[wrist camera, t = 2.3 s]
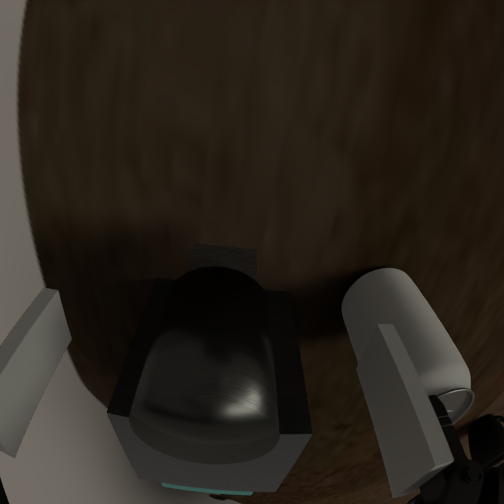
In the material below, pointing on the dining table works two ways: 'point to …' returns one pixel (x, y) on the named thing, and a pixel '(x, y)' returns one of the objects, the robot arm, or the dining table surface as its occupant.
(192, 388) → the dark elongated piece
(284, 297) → the housing
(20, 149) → the dining table surface
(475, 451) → the mug
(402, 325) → the can
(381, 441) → the robot arm
